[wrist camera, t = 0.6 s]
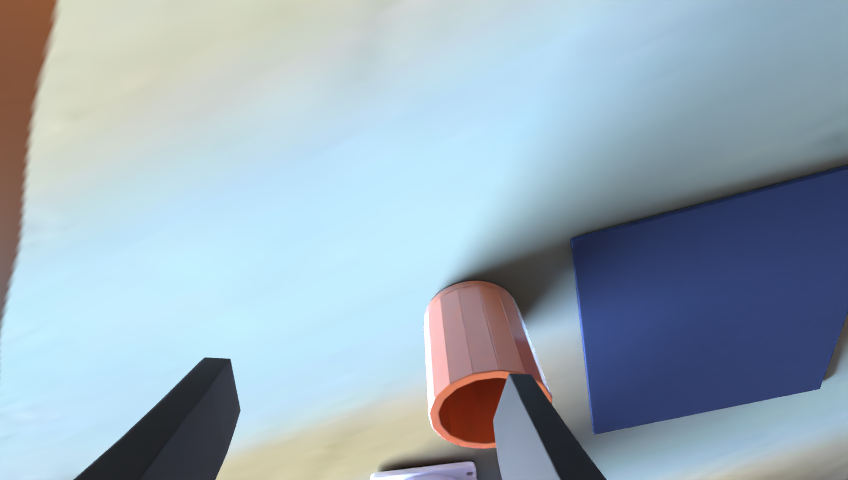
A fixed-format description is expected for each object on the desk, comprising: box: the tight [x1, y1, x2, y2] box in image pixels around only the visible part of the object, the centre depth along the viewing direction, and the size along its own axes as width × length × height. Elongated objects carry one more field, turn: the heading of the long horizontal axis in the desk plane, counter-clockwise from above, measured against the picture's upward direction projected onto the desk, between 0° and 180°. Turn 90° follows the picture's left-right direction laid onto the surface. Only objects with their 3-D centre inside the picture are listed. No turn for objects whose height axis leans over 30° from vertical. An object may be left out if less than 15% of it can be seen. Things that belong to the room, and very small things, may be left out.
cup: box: [424, 281, 552, 449], centre depth 19 cm, size 5×5×6 cm
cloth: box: [571, 165, 848, 435], centre depth 22 cm, size 17×15×1 cm
